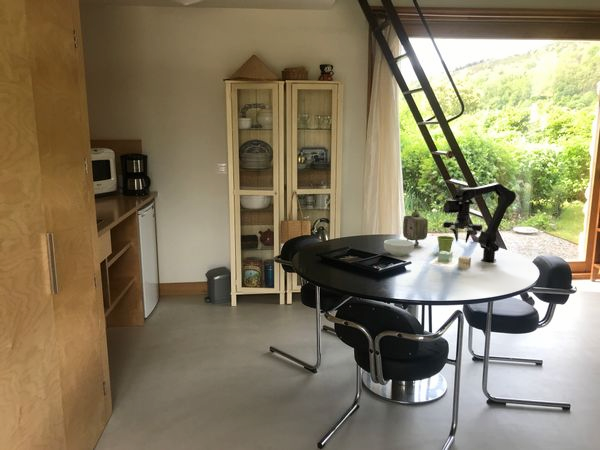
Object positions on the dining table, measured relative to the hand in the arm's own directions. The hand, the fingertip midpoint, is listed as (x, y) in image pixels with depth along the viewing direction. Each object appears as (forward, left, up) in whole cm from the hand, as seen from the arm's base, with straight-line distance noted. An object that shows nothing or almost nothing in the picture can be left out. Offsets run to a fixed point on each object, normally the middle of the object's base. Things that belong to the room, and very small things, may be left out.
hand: (461, 242), depth 252 cm
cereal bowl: (+1, -34, -11) cm, 36 cm away
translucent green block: (0, -8, -11) cm, 14 cm away
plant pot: (-18, -13, -11) cm, 25 cm away
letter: (+3, -7, -11) cm, 13 cm away
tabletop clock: (-28, -34, -11) cm, 45 cm away
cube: (+8, +4, -11) cm, 14 cm away
